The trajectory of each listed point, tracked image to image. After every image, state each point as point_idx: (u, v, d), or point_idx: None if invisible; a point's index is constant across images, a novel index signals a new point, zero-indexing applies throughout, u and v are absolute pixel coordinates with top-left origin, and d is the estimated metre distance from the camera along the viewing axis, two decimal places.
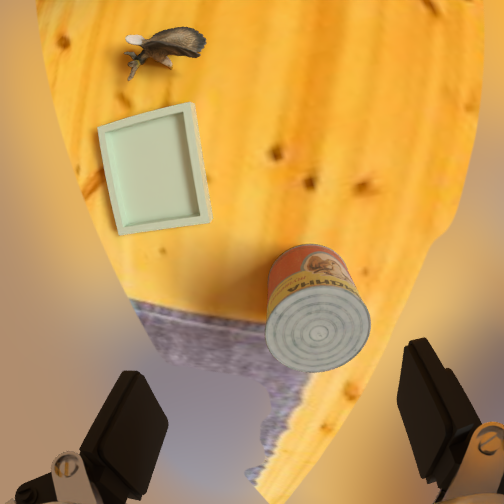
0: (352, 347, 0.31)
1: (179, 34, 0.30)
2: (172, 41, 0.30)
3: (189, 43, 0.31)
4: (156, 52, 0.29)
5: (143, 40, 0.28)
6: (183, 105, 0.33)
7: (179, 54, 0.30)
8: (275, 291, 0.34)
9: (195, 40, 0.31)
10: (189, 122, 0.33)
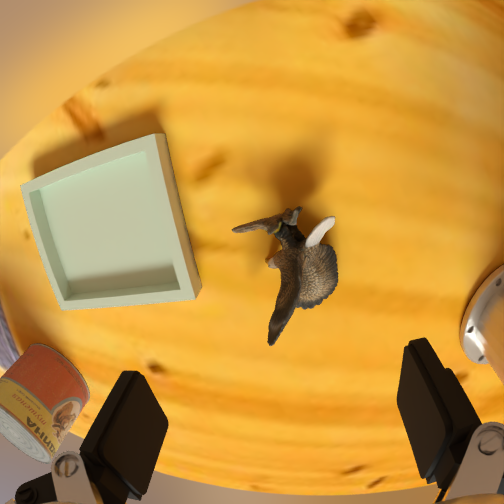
0: (19, 447, 0.24)
1: (320, 289, 0.23)
2: (307, 282, 0.23)
3: (304, 297, 0.24)
4: (287, 266, 0.21)
5: (315, 247, 0.20)
6: (189, 289, 0.24)
7: (277, 303, 0.22)
8: (24, 394, 0.24)
9: (308, 300, 0.25)
10: (165, 297, 0.24)
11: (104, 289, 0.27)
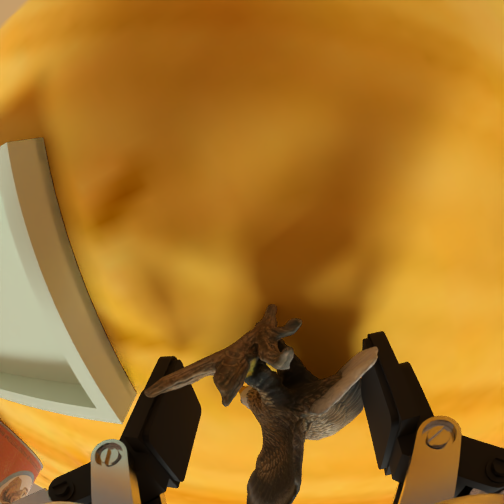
0: None
1: (333, 433, 0.11)
2: (312, 431, 0.11)
3: None
4: (273, 427, 0.10)
5: (330, 407, 0.08)
6: (109, 411, 0.12)
7: (258, 466, 0.11)
8: None
9: None
10: (80, 413, 0.12)
11: (14, 373, 0.14)
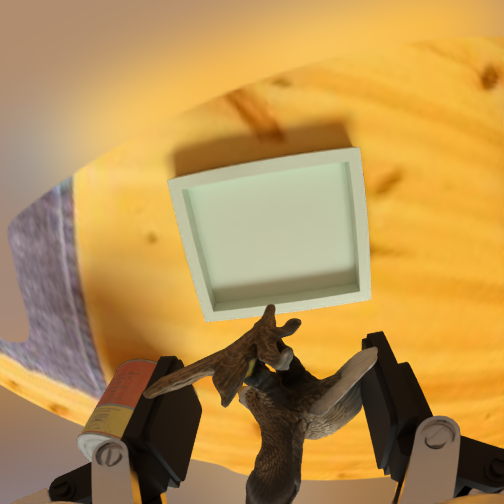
0: None
1: (332, 433, 0.11)
2: (311, 431, 0.11)
3: None
4: (272, 427, 0.10)
5: None
6: (367, 291, 0.25)
7: (257, 466, 0.11)
8: None
9: None
10: (343, 300, 0.26)
11: (262, 296, 0.28)
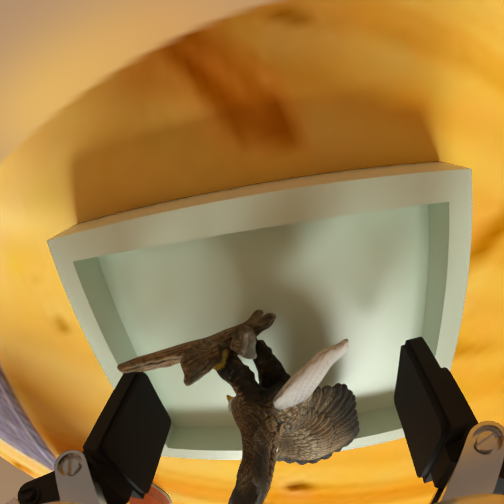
0: None
1: (323, 453, 0.10)
2: (297, 446, 0.10)
3: (296, 458, 0.11)
4: (248, 430, 0.09)
5: (301, 406, 0.08)
6: None
7: (238, 479, 0.10)
8: None
9: None
10: (388, 437, 0.12)
11: None
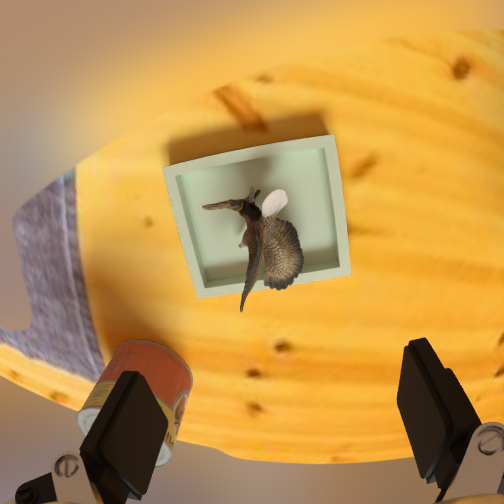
0: None
1: (286, 262, 0.26)
2: (273, 255, 0.26)
3: (274, 274, 0.27)
4: (251, 238, 0.25)
5: (271, 217, 0.24)
6: (347, 267, 0.28)
7: (247, 274, 0.26)
8: None
9: (280, 278, 0.28)
10: (325, 275, 0.28)
11: None
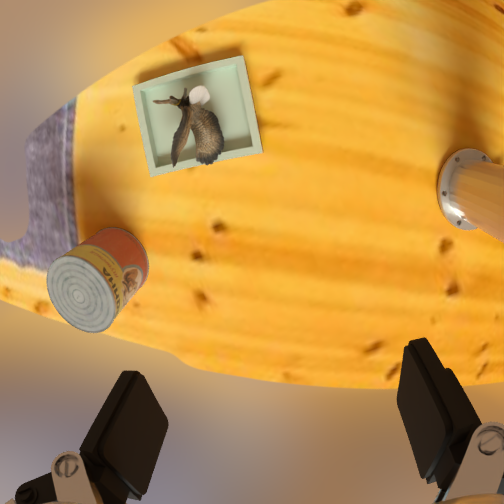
0: (76, 321, 0.36)
1: (209, 138, 0.35)
2: (199, 133, 0.35)
3: (201, 149, 0.36)
4: None
5: (196, 104, 0.33)
6: (259, 146, 0.36)
7: None
8: (101, 251, 0.36)
9: (206, 154, 0.36)
10: (241, 153, 0.37)
11: (189, 158, 0.39)
